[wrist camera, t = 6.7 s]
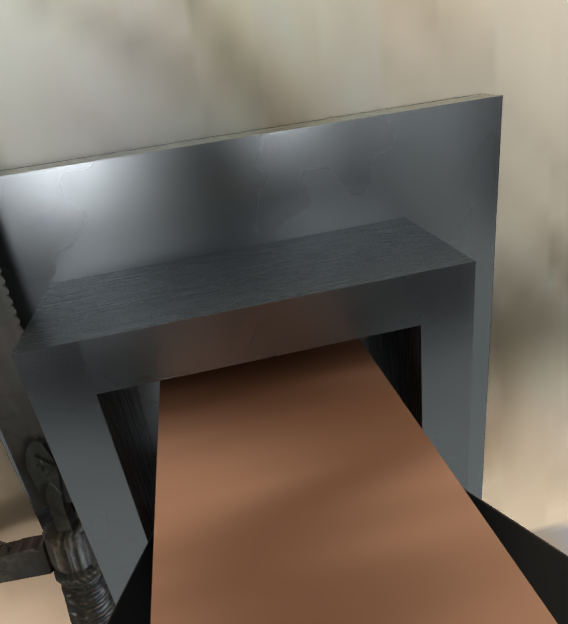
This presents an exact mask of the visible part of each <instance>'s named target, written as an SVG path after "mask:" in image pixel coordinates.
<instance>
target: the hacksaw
mask: <svg viewBox="0 0 568 624" xmlns="http://www.w3.org/2000/svg"><path fill="white" fill-rule="evenodd" d="M1 271H2V270H1V269H0V430H1V432H2V435H3V437H4V439H5V442H6V444H7V446H8V448H9V451H10V453H11V455H12V458H13V460H14V462H15V465H16V467H17V469H18V472H19V474H20V476H21V479H22V481H23V483H24V486H25V488H26V490H27V492H28V495H29V497H30V499H31V502H32V504H33V506H34V508H39V507H46V506H47V507H48V509H49V511H50V513H51V517H52V521H53V522H52V523H50V524H49V525H48V526H47V527H45V529H44V531H43V533H42V534H43V535H39V536H33V537H28V538H23V539H21V540H17V541H13V542H9V543H5V542H2V541H0V544H1V545H0V583H3V582H8V581H13V580H19V579H24V578H29V577H34V576H40V575H45V574H50V573H52V572H53V571H54V575H55V578H56V581H58V582H59V583H60V584H61V586H62V591H63V594H64V597H65V601H66V604H67V609H68V612H69V616H70V620H71V623H72V624H106V623H107V621H108V619H109V617H110V615H111V613H112V611H113V609H114V607H115V602H114V600H113V598H112V595H111V593H110V590H109V588H108V586H107V583H106V581H105V578H104V576H103V574H102V571H101V569H100V567H99V564H98V562H97V559H96V557H95V555H94V552H93V550H92V547H91V545H90V543H89V540H88V538H87V536H86V533H85V531H84V528H83V526H82V524H81V521H80V519H79V516H78V514H77V512H76V511H75V512H74V510H73V508H72V506H71V502H72V500H71V497H70V495H69V493H68V490H67V488H66V485H65V483H64V481H63V478H62V476H61V473H60V471H59V469H58V466H57V464H56V462H55V459H54V457H53V454H52V452H51V450H50V447H49V445H48V442H47V440H46V438H45V435H44V433H43V431H42V428H41V426H40V423H39V421H38V419H37V416H36V414H35V411H34V409H33V407H32V404H31V402H30V399H29V397H28V395H27V392H26V390H25V388H24V385H23V383H22V380H21V378H20V376H19V373H18V371H17V368H16V366H15V364H14V361H13V359H12V357H11V353H12V352H13V350H14V348H15V346H16V345H17V343H18V341H19V339H20V337H21V336H22V334H23V332H24V330H23V329H22V328H21V326H20V320H19V319H18V317H17V316H16V313H17V311H16V310H15V308H14V307H13V306H12V304H13V301H12V299H11V298H10V297H9V296H8V295H9V290H8V289H7V288H6V287H5V280H4V278H3V277H2V276H1Z"/></svg>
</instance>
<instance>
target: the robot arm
mask: <svg viewBox="0 0 568 624" xmlns="http://www.w3.org/2000/svg"><path fill="white" fill-rule="evenodd" d="M463 489H464V488H463ZM464 490H465V492H466V493H467V494H468V496H469V497H470V499H471V500H472V502H473V503H474V504H475V506H476V507H477V509H478V510H479V512H480V513H481V515H482V516H483V517H484V519H485V520H486V522H487V523H488V525H489V526H490V527H491V529H492V530H493V532H494V533H495V535H496V536H497V537H498V539H499V540H500V542H501V543H502V545H503V546H504V548H505V549H506V550H507V552H508V553H509V555H510V556H511V558H512V559H513V560H514V562H515V563H516V565H517V566H518V568H519V569H520V570H521V572H522V573H523V575H524V576H525V578H526V579H527V581H528V582H529V583H530V585H531V586H532V588H533V589H534V591H535V592H536V593H537V595H538V596H539V598H540V599H541V601H542V602H543V603H544V605H545V606H546V608H547V609H548V611H549V612H550V614H551V615H552V616H553V618H554V619H555V621H556V622H557V624H568V556H567V555H566V554H564V553H563V552H561V551H560V550H558V549H556V548H555V547H553V546H552V545H550V544H549V543H547V542H546V541H544V540H543V539H541V538H540V537H538V536H536V535H535V534H533V533H532V532H530V531H529V530H527V529H526V528H524V527H523V526H521V525H520V524H518V523H516V522H515V521H513V520H512V519H510V518H509V517H507V516H506V515H504V514H503V513H501V512H499V511H498V510H496V509H495V508H493V507H492V506H490V505H489V504H487V503H486V502H484V501H483V500H481V499H479V498H478V497H476V496H475V495H473V494H472V493H470V492H469V491H467V490H466V489H464ZM153 547H154V531H153V533H152V535H151V537H150V539H149V541H148V543H147V545H146V547H145V549H144V551H143V553H142V555H141V557H140V559H139V561H138V563H137V564H136V566H135V568H134V570H133V572H132V574H131V576H130V578H129V580H128V582H127V584H126V586H125V588H124V590H123V592H122V594H121V596H120V598H119V600H118V602H117V604H116V605H115V607H114V609H113V611H112V613H111V615H110V617H109V619H108V621H107V623H106V624H151V599H152V573H153Z"/></svg>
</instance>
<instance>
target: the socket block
mask: <svg viewBox="0 0 568 624" xmlns="http://www.w3.org/2000/svg"><path fill="white" fill-rule="evenodd" d="M502 99H503V95H490V94H478V95H472V96H466V97H460V98H453V99H447V100H441V101H435V102H428V103H422V104H416V105H410V106H404V107H397V108H391V109H385V110H379V111H372V112H366V113H360V114H354V115H347V116H341V117H335V118H329V119H322V120H316V121H310V122H304V123H297V124H291V125H285V126H279V127H272V128H266V129H260V130H254V131H247V132H241V133H235V134H229V135H222V136H216V137H210V138H204V139H197V140H191V141H185V142H179V143H172V144H166V145H160V146H154V147H147V148H141V149H135V150H129V151H122V152H116V153H110V154H104V155H97V156H91V157H85V158H79V159H72V160H66V161H60V162H54V163H47V164H41V165H35V166H29V167H22V168H16V169H10V170H4V171H0V269H1V270H2V271H1V276H2V277H3V278H4V280H5V287H6V288H7V289H8V290H9V295H8V296H9V297H10V298H11V299H12V301H13V304H12V306H13V307H14V308H15V310H16V311H17V313H16V316H17V317H18V319H19V320H20V326H21V328H22V329H23V330H24V332H23V334H22V336H21V337H20V339H19V341H18V343H17V345H16V346H15V348H14V350H13V352H12V353H11V357H12V359H13V361H14V364H15V366H16V368H17V371H18V373H19V376H20V378H21V380H22V383H23V385H24V388H25V390H26V392H27V395H28V397H29V399H30V402H31V404H32V407H33V409H34V411H35V414H36V416H37V419H38V421H39V423H40V426H41V428H42V431H43V433H44V435H45V438H46V440H47V442H48V445H49V447H50V450H51V452H52V454H53V457H54V459H55V462H56V464H57V466H58V469H59V471H60V473H61V476H62V478H63V481H64V483H65V485H66V488H67V490H68V493H69V495H70V497H71V500H72V502H71V506H72V508H73V510H74V512H75V511H76V512H77V514H78V516H79V519H80V521H81V524H82V526H83V528H84V531H85V533H86V536H87V538H88V540H89V543H90V545H91V547H92V550H93V552H94V555H95V557H96V559H97V562H98V564H99V567H100V569H101V571H102V574H103V576H104V578H105V581H106V583H107V586H108V588H109V590H110V593H111V595H112V598H113V600H114V602H115V605H116V604H117V602H118V600H119V598H120V596H121V594H122V592H123V590H124V588H125V586H126V584H127V582H128V580H129V578H130V576H131V574H132V572H133V570H134V568H135V566H136V564H137V563H138V561H139V559H140V557H141V555H142V553H143V551H144V549H145V547H146V545H147V543H148V541H149V539H150V537H151V535H152V533H153V531H154V522H155V496H156V471H157V445H158V419H159V394H160V381H162V380H166V379H171V378H176V377H180V376H185V375H190V374H194V373H199V372H204V371H208V370H213V369H218V368H222V367H227V366H232V365H236V364H241V363H246V362H251V361H255V360H260V359H265V358H269V357H274V356H279V355H283V354H288V353H293V352H297V351H302V350H307V349H311V348H316V347H321V346H325V345H330V344H335V343H339V342H344V341H349V340H354V339H358V338H359V339H360V341H361V342H362V344H363V345H364V347H365V348H366V350H367V351H368V352H369V354H370V355H371V357H372V358H373V360H374V361H375V362H376V364H377V365H378V367H379V368H380V370H381V371H382V372H383V374H384V375H385V377H386V378H387V380H388V381H389V383H390V384H391V385H392V387H393V388H394V390H395V391H396V393H397V394H398V395H399V397H400V398H401V400H402V401H403V403H404V404H405V405H406V407H407V408H408V410H409V411H410V413H411V414H412V416H413V417H414V418H415V420H416V421H417V423H418V424H419V426H420V427H421V428H422V430H423V431H424V433H425V434H426V436H427V437H428V438H429V440H430V441H431V443H432V444H433V446H434V447H435V449H436V450H437V451H438V453H439V454H440V456H441V457H442V459H443V460H444V461H445V463H446V464H447V466H448V467H449V469H450V470H451V471H452V473H453V474H454V476H455V477H456V479H457V480H458V482H459V483H460V484H461V486H462V487H463V488H464V489H466V490H467V491H469V492H470V493H472V494H473V495H475V496H476V497H478V498H479V499H481V500H482V481H483V462H484V442H485V423H486V404H487V385H488V366H489V347H490V328H491V309H492V290H493V271H494V252H495V233H496V213H497V194H498V175H499V156H500V137H501V118H502ZM0 439H1V441H2V443H3V445H4V448H5V450H6V452H7V454H8V456H9V458H10V460H11V463H12V465H13V467H14V469H15V471H16V473H17V475H18V477H19V480H20V482H21V484H22V486H23V488H24V490H25V492H26V495H27V497H28V499H29V501H30V503H31V505H32V507H33V510H34V512H35V514H36V516H37V518H38V520H39V522H40V524H41V527H42V529H43V531H44V529H45V527H47V526H48V525H49V524H50V523H52V522H53V521H52V517H51V513H50V511H49V509H48V507H47V506H46V507H39V508H34V506H33V504H32V502H31V499H30V497H29V495H28V492H27V490H26V488H25V486H24V483H23V481H22V479H21V476H20V474H19V472H18V469H17V467H16V465H15V462H14V460H13V458H12V455H11V453H10V451H9V448H8V446H7V444H6V442H5V439H4V437H3V435H2V432H1V430H0Z"/></svg>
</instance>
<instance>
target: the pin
mask: <svg viewBox="0 0 568 624" xmlns="http://www.w3.org/2000/svg"><path fill="white" fill-rule="evenodd" d="M151 624H557V622H556V621H555V619H554V618H553V616H552V615H551V614H550V612H549V611H548V609H547V608H546V606H545V605H544V603H543V602H542V601H541V599H540V598H539V596H538V595H537V593H536V592H535V591H534V589H533V588H532V586H531V585H530V583H529V582H528V581H527V579H526V578H525V576H524V575H523V573H522V572H521V570H520V569H519V568H518V566H517V565H516V563H515V562H514V560H513V559H512V558H511V556H510V555H509V553H508V552H507V550H506V549H505V548H504V546H503V545H502V543H501V542H500V540H499V539H498V537H497V536H496V535H495V533H494V532H493V530H492V529H491V527H490V526H489V525H488V523H487V522H486V520H485V519H484V517H483V516H482V515H481V513H480V512H479V510H478V509H477V507H476V506H475V504H474V503H473V502H472V500H471V499H470V497H469V496H468V494H467V493H466V492H465V490H464V489H463V487H462V486H461V484H460V483H459V482H458V480H457V479H456V477H455V476H454V474H453V473H452V471H451V470H450V469H449V467H448V466H447V464H446V463H445V461H444V460H443V459H442V457H441V456H440V454H439V453H438V451H437V450H436V449H435V447H434V446H433V444H432V443H431V441H430V440H429V438H428V437H427V436H426V434H425V433H424V431H423V430H422V428H421V427H420V426H419V424H418V423H417V421H416V420H415V418H414V417H413V416H412V414H411V413H410V411H409V410H408V408H407V407H406V405H405V404H404V403H403V401H402V400H401V398H400V397H399V395H398V394H397V393H396V391H395V390H394V388H393V387H392V385H391V384H390V383H389V381H388V380H387V378H386V377H385V375H384V374H383V372H382V371H381V370H380V368H379V367H378V365H377V364H376V362H375V361H374V360H373V358H372V357H371V355H370V354H369V352H368V351H367V350H366V348H365V347H364V345H363V344H362V342H361V341H360V339H359V338H358V339H354V340H349V341H344V342H339V343H335V344H330V345H325V346H321V347H316V348H311V349H307V350H302V351H297V352H293V353H288V354H283V355H279V356H274V357H269V358H265V359H260V360H255V361H251V362H246V363H241V364H236V365H232V366H227V367H222V368H218V369H213V370H208V371H204V372H199V373H194V374H190V375H185V376H180V377H176V378H171V379H166V380H162V381H160V394H159V419H158V445H157V471H156V496H155V522H154V547H153V573H152V599H151Z"/></svg>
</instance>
